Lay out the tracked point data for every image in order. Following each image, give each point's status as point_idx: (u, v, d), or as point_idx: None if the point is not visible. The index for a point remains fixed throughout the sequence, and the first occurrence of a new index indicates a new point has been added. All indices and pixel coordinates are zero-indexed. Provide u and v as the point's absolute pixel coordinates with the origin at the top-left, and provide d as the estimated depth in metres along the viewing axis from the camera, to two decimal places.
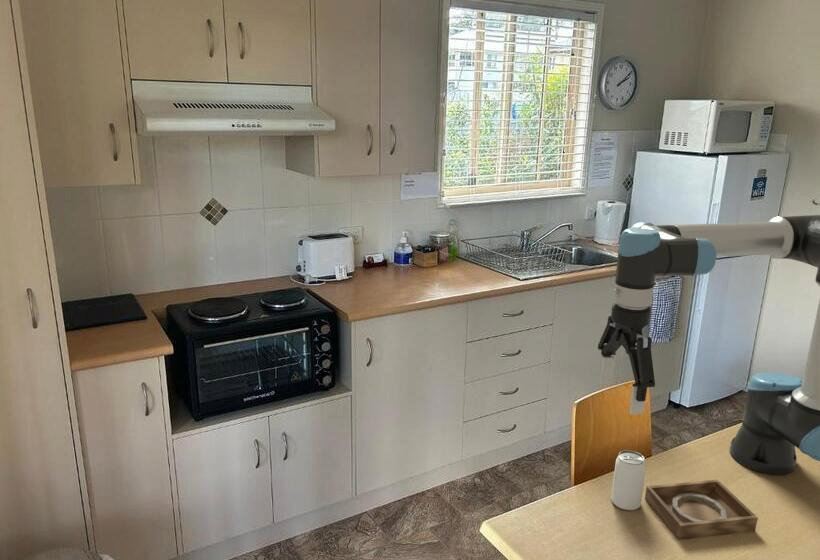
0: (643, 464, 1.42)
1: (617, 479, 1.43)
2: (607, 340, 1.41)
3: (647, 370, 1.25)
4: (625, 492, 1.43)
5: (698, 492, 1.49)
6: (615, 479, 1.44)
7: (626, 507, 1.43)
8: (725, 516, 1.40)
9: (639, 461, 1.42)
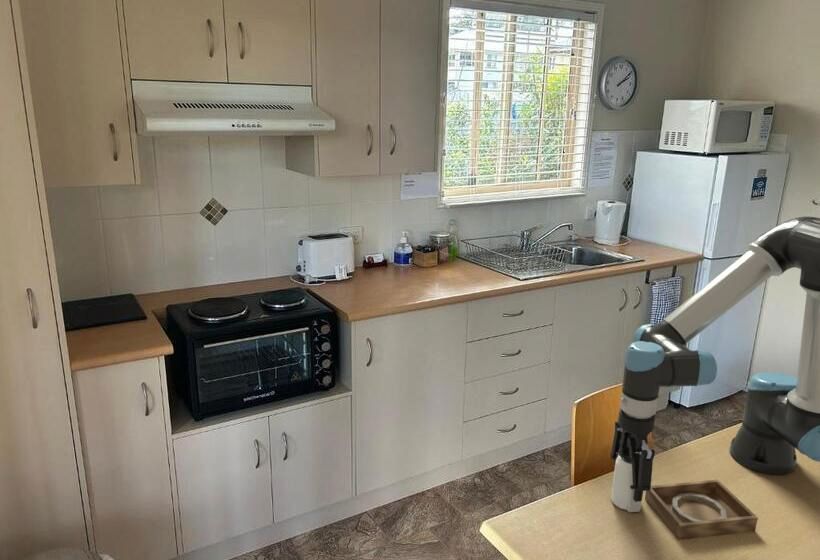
0: None
1: (617, 479, 1.43)
2: (618, 447, 1.49)
3: (646, 478, 1.37)
4: (625, 492, 1.43)
5: (698, 492, 1.49)
6: (615, 479, 1.44)
7: (626, 507, 1.43)
8: (725, 516, 1.40)
9: None
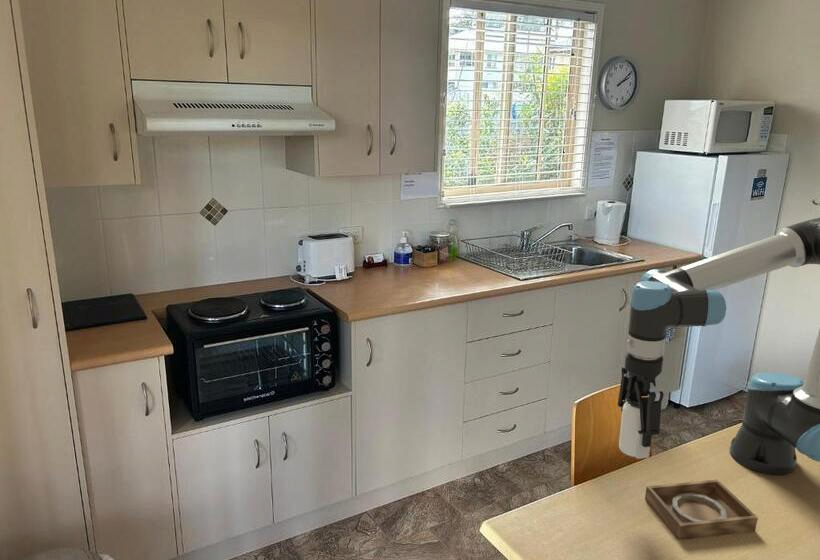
0: None
1: (625, 425, 1.40)
2: (625, 394, 1.45)
3: (654, 421, 1.33)
4: (633, 438, 1.39)
5: (698, 492, 1.49)
6: (622, 426, 1.40)
7: (634, 454, 1.40)
8: (725, 516, 1.40)
9: None
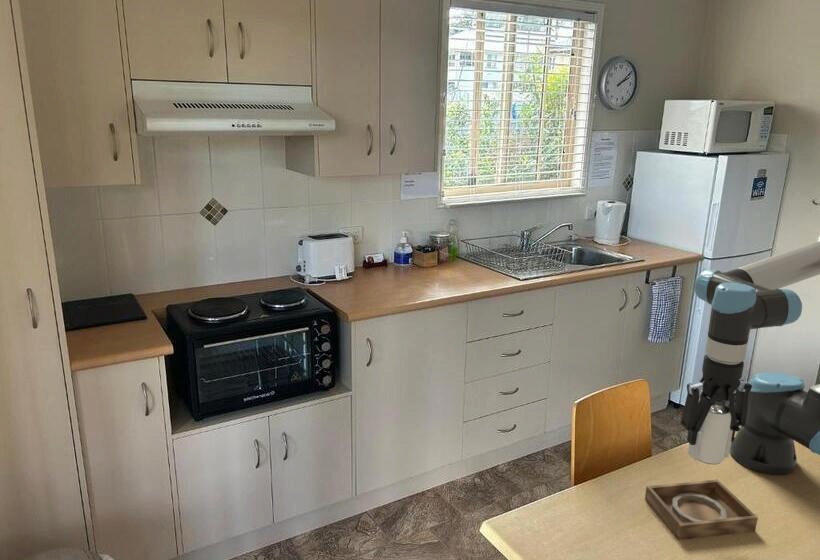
0: (711, 415, 1.33)
1: None
2: (737, 409, 1.36)
3: (686, 413, 1.34)
4: None
5: (698, 492, 1.49)
6: None
7: None
8: (725, 516, 1.40)
9: (712, 411, 1.34)
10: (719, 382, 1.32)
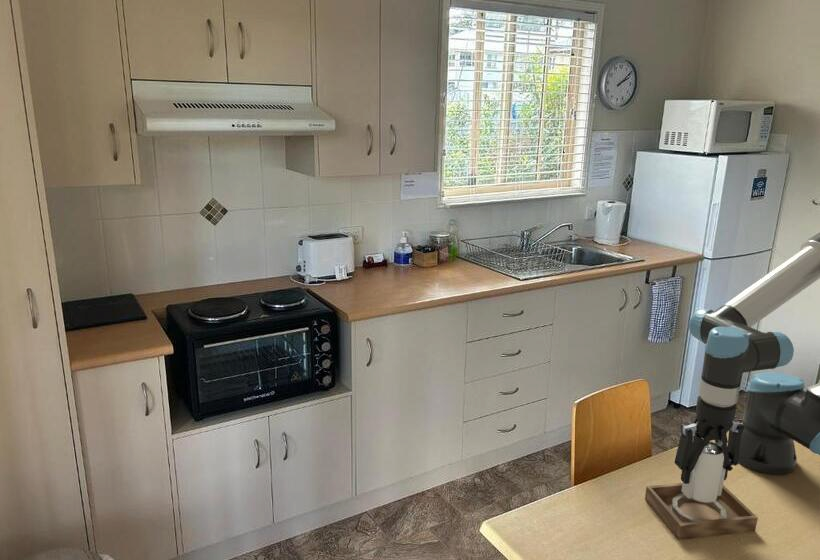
0: (704, 455, 1.36)
1: None
2: (730, 448, 1.39)
3: (680, 453, 1.37)
4: None
5: None
6: None
7: None
8: (725, 516, 1.40)
9: (705, 451, 1.37)
10: (712, 423, 1.35)
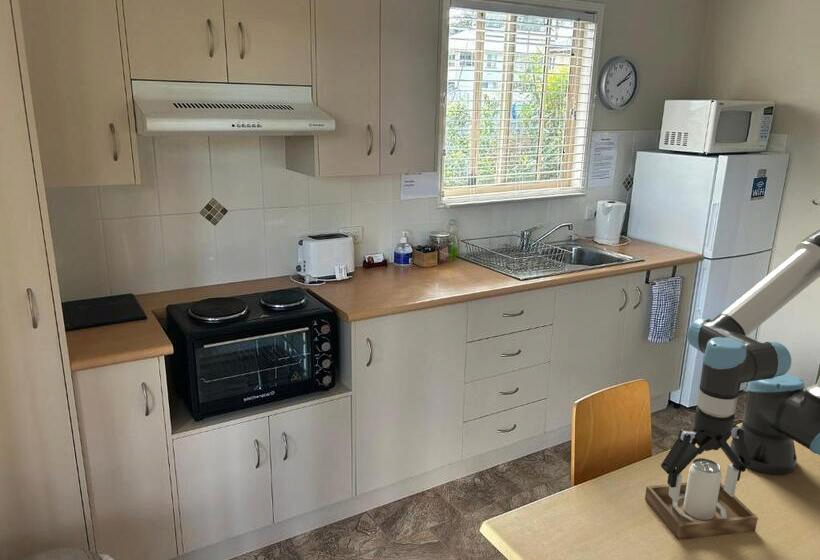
0: (702, 473, 1.37)
1: None
2: (738, 451, 1.40)
3: (670, 457, 1.37)
4: (686, 490, 1.43)
5: None
6: None
7: None
8: (725, 516, 1.40)
9: (703, 469, 1.38)
10: (710, 437, 1.36)
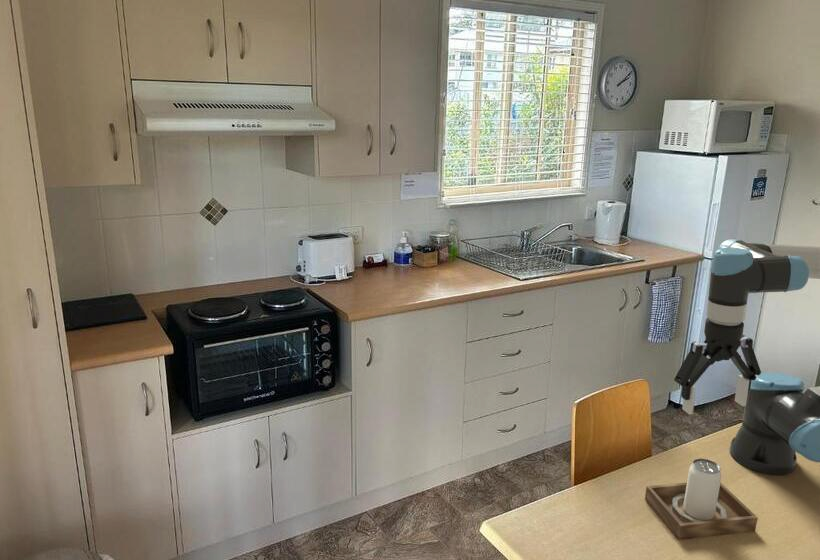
0: (702, 474, 1.37)
1: None
2: (748, 361, 1.43)
3: (683, 369, 1.39)
4: None
5: None
6: None
7: None
8: (725, 516, 1.40)
9: (703, 470, 1.38)
10: (721, 347, 1.38)
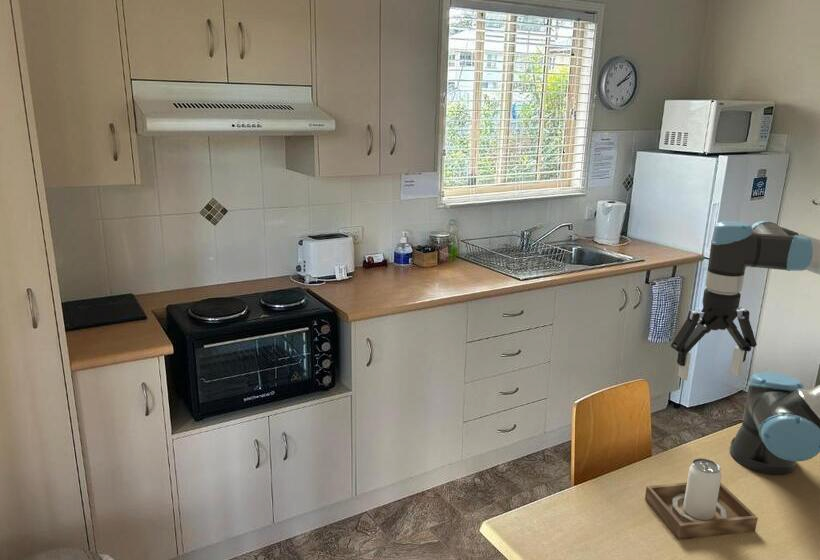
0: (702, 473, 1.37)
1: None
2: (744, 333, 1.49)
3: (680, 336, 1.46)
4: None
5: None
6: None
7: None
8: (725, 516, 1.40)
9: (703, 470, 1.38)
10: (718, 316, 1.44)
